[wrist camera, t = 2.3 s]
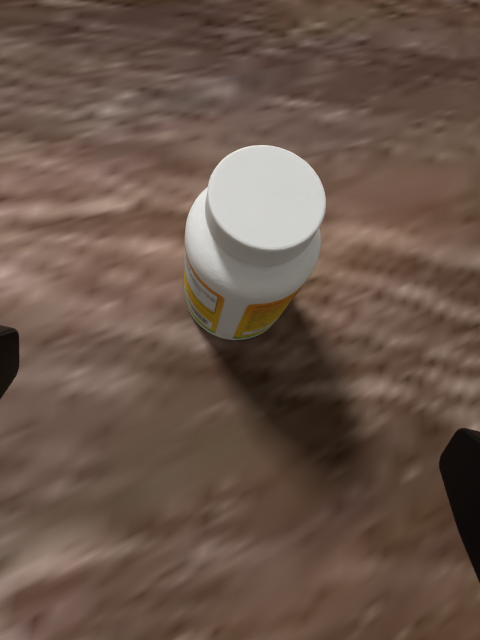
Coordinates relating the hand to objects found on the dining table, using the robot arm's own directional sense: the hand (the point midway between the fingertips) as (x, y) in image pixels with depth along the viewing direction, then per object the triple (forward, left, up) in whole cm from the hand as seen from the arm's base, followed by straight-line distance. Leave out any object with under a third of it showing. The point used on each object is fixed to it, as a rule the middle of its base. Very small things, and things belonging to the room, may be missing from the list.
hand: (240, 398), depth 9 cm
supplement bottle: (+6, +3, -13) cm, 15 cm away
